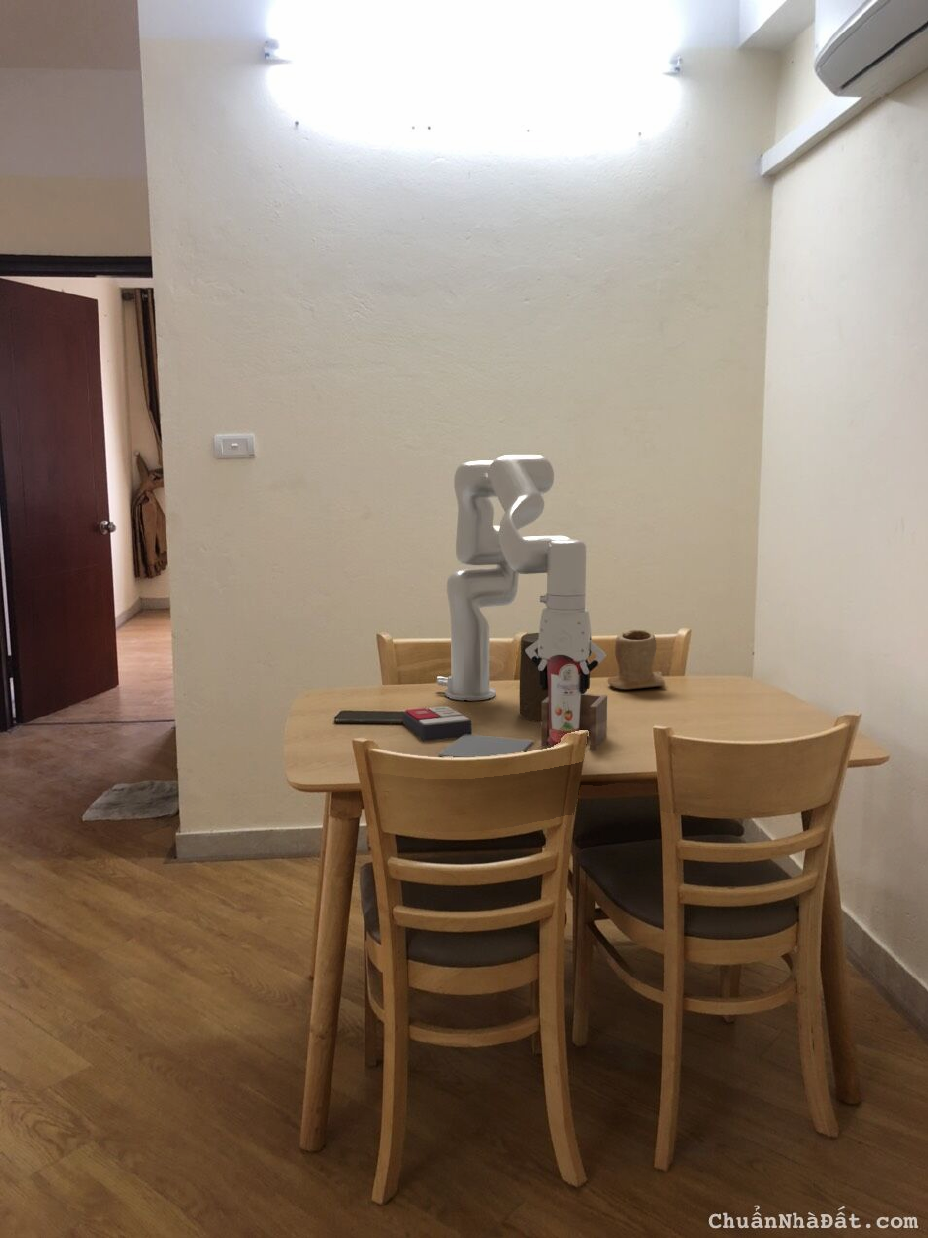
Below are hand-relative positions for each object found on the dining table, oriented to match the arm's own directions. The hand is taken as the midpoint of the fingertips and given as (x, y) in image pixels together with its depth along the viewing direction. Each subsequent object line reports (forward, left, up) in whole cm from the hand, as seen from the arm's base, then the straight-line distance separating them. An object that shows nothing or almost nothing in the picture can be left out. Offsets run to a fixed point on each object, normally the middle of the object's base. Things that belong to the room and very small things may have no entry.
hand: (564, 690), depth 192 cm
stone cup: (+4, +59, -13) cm, 61 cm away
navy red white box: (-30, +6, -13) cm, 34 cm away
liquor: (0, 0, -12) cm, 12 cm away
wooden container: (-10, +26, -13) cm, 31 cm away
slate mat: (-15, -5, -13) cm, 20 cm away
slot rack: (0, +7, -13) cm, 15 cm away
